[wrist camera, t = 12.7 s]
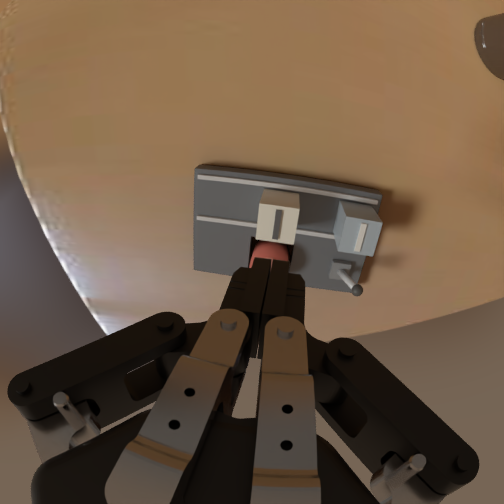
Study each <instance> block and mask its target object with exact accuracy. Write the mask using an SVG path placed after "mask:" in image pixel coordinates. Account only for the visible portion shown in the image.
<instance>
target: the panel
mask: <svg viewBox="0 0 504 504" xmlns="http://www.w3.org/2000/svg"><path fill="white" fill-rule="evenodd" d="M264 189H271V190H279V191H286V192H293V193H299V203H300V211H299V217H298V223H297V228H296V234H295V240H294V245H293V249H292V255H291V260H290V266H289V273H293V274H301V276H302V278H303V279H304V281H305V287H312V288H319V289H327V290H334V291H342V292H350V293H352V294H353V295H354V296H360V295H361V294H362V293H363V288H362V286H361V285H359V284H357V283H358V280H359V277H360V274H361V271H362V267H363V264H364V261H365V258H366V255H359V254H353V253H346V252H339V251H338V250H337V246H336V242H335V237H334V233H333V229H334V224H335V220H336V215H337V210H338V205H339V201H340V200H343V201H348V202H354V203H359V204H365V205H370V206H372V207H373V208H374V210H375V211H376V213H377V215H378V211H379V207H380V203H381V199H382V194H381V193H380V192H379V190H375V189H370V188H365V187H360V186H354V185H349V184H344V183H338V182H332V181H326V180H320V179H314V178H308V177H301V176H295V175H288V174H281V173H273V172H265V171H257V170H249V169H240V168H231V167H221V166H210V165H198V166H197V167H196V168H195V176H194V270H198V271H204V272H210V273H217V274H223V275H229V276H232V275H233V273H234V272H235V271H236V270H238V269H239V268H240V267H247V268H249V266H250V265H249V264H250V254H251V245H252V237H256V230H257V221H258V212H259V203H260V200H261V197H262V194H263V191H264Z"/></svg>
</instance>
